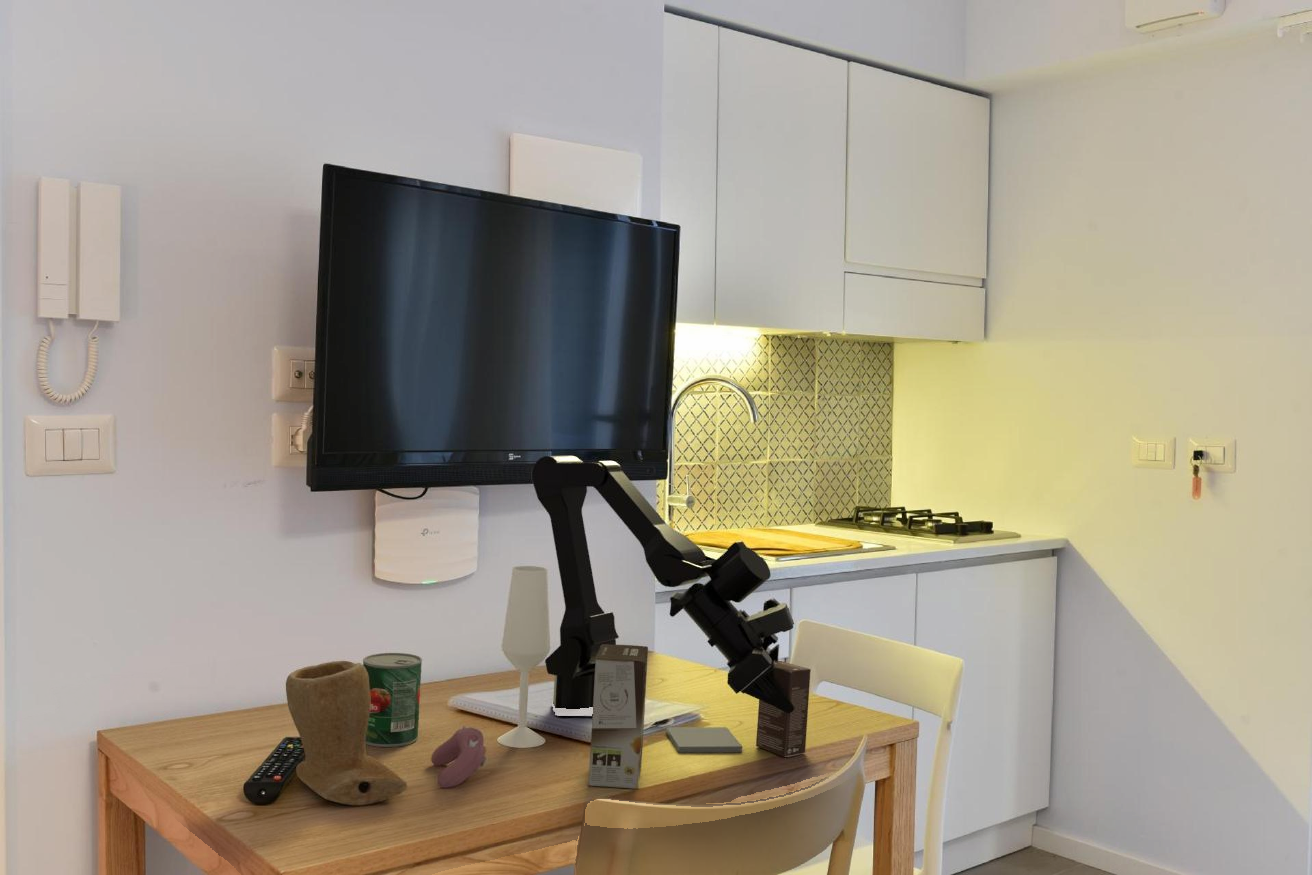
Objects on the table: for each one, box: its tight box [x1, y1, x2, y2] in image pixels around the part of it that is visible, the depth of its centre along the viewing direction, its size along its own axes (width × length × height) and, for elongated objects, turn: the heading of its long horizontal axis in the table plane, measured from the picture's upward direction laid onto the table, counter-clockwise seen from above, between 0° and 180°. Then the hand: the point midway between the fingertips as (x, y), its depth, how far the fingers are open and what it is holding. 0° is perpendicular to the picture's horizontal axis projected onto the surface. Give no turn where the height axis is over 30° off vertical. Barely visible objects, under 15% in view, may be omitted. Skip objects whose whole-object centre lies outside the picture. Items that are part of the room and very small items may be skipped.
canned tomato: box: [362, 652, 423, 748], centre depth 156 cm, size 8×8×11 cm
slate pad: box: [665, 726, 743, 753], centre depth 162 cm, size 9×9×1 cm
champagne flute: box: [496, 565, 551, 749], centre depth 158 cm, size 7×7×24 cm
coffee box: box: [588, 644, 649, 790], centre depth 145 cm, size 9×6×16 cm
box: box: [755, 660, 811, 758], centre depth 160 cm, size 6×4×12 cm
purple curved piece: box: [430, 725, 487, 789], centre depth 143 cm, size 10×5×7 cm, turn 17°
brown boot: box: [285, 660, 408, 806], centre depth 135 cm, size 15×12×15 cm
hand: (793, 704), depth 159 cm, fingers closed on box, 7 cm apart
